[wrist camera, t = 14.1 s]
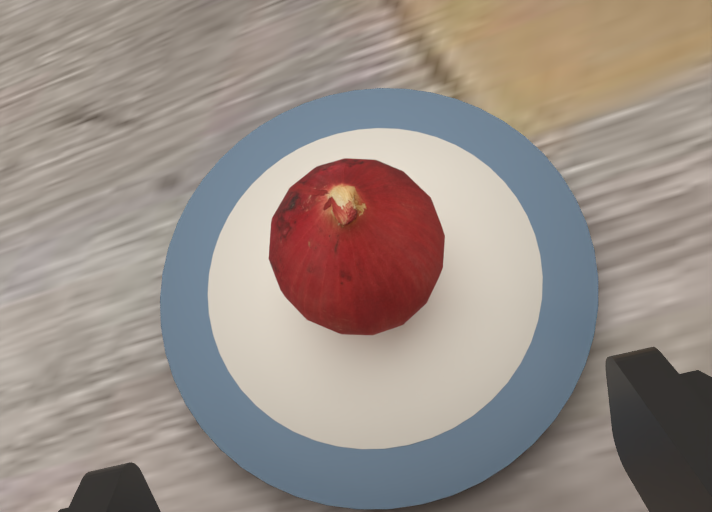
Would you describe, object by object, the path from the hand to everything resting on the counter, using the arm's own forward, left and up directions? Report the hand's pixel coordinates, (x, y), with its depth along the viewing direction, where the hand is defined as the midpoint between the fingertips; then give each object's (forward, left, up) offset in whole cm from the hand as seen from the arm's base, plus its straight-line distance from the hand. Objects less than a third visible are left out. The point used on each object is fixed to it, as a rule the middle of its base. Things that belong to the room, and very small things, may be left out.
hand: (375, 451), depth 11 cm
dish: (0, -8, -15) cm, 17 cm away
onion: (0, -7, -13) cm, 15 cm away
